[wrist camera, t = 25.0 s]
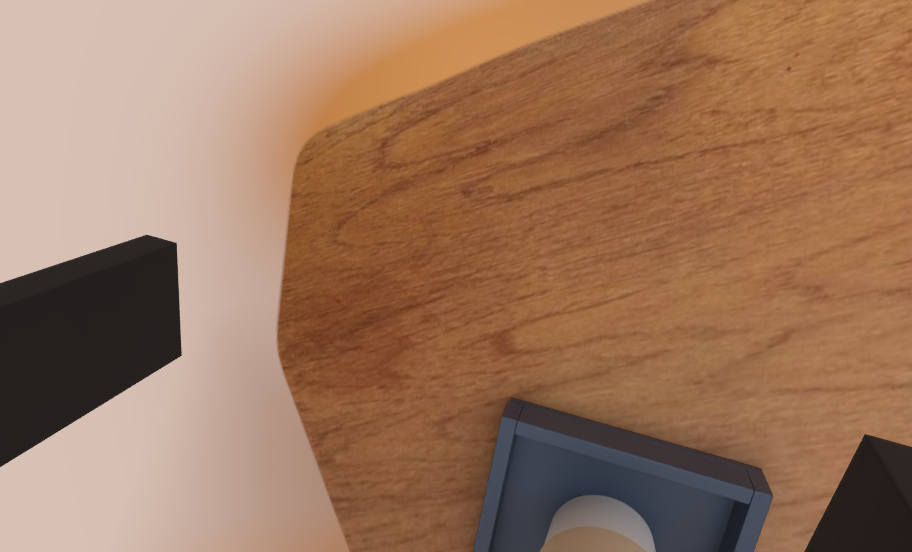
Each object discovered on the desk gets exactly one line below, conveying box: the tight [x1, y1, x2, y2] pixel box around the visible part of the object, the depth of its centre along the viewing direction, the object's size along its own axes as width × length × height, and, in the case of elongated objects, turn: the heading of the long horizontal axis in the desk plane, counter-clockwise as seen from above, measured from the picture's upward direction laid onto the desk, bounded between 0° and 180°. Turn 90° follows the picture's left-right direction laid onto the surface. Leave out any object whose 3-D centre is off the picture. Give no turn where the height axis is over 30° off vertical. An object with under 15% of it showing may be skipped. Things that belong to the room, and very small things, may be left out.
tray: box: [473, 398, 773, 552], centre depth 38 cm, size 16×16×3 cm
